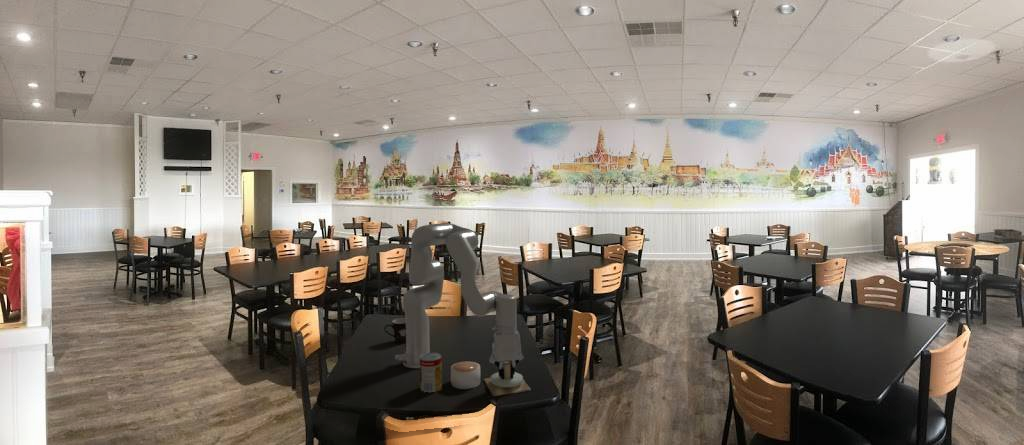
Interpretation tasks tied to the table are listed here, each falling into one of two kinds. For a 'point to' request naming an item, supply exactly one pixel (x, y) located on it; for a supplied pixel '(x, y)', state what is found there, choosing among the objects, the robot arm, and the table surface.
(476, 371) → the bowl
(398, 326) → the coffee mug
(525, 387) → the mat
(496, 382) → the lid
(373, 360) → the table surface
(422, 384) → the canned food
